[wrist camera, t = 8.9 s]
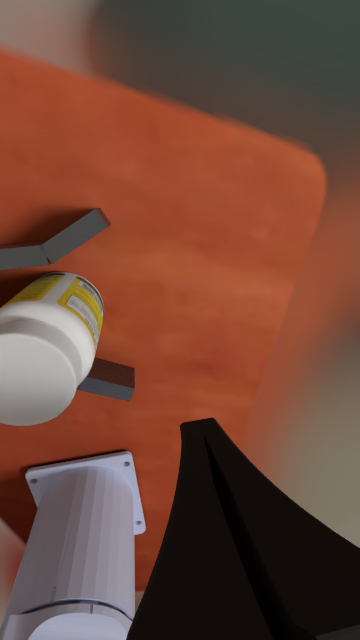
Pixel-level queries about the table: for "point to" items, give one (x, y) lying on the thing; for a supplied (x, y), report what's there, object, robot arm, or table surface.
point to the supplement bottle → (47, 346)
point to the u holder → (39, 253)
